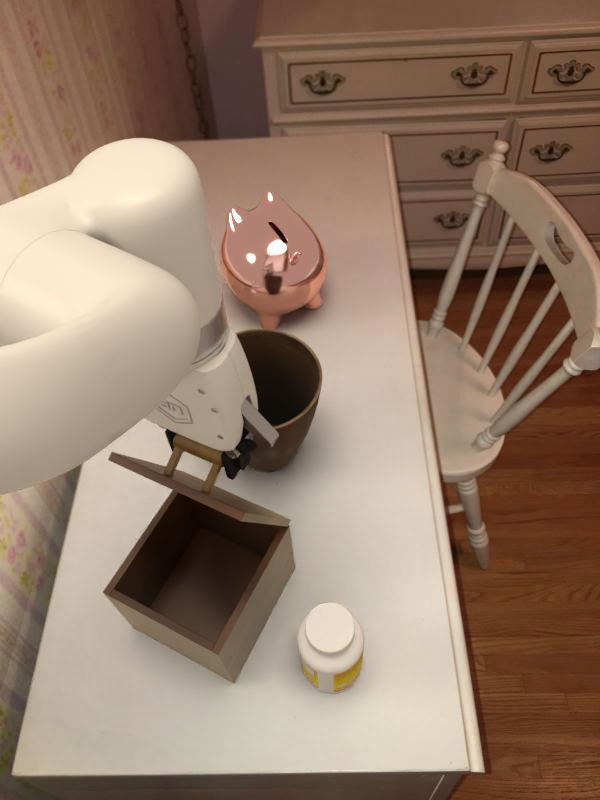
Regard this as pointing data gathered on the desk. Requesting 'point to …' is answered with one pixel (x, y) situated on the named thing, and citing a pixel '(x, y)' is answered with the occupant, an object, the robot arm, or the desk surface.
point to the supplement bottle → (331, 647)
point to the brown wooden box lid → (200, 482)
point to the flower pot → (282, 391)
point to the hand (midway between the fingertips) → (211, 453)
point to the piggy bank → (272, 259)
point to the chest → (203, 582)
